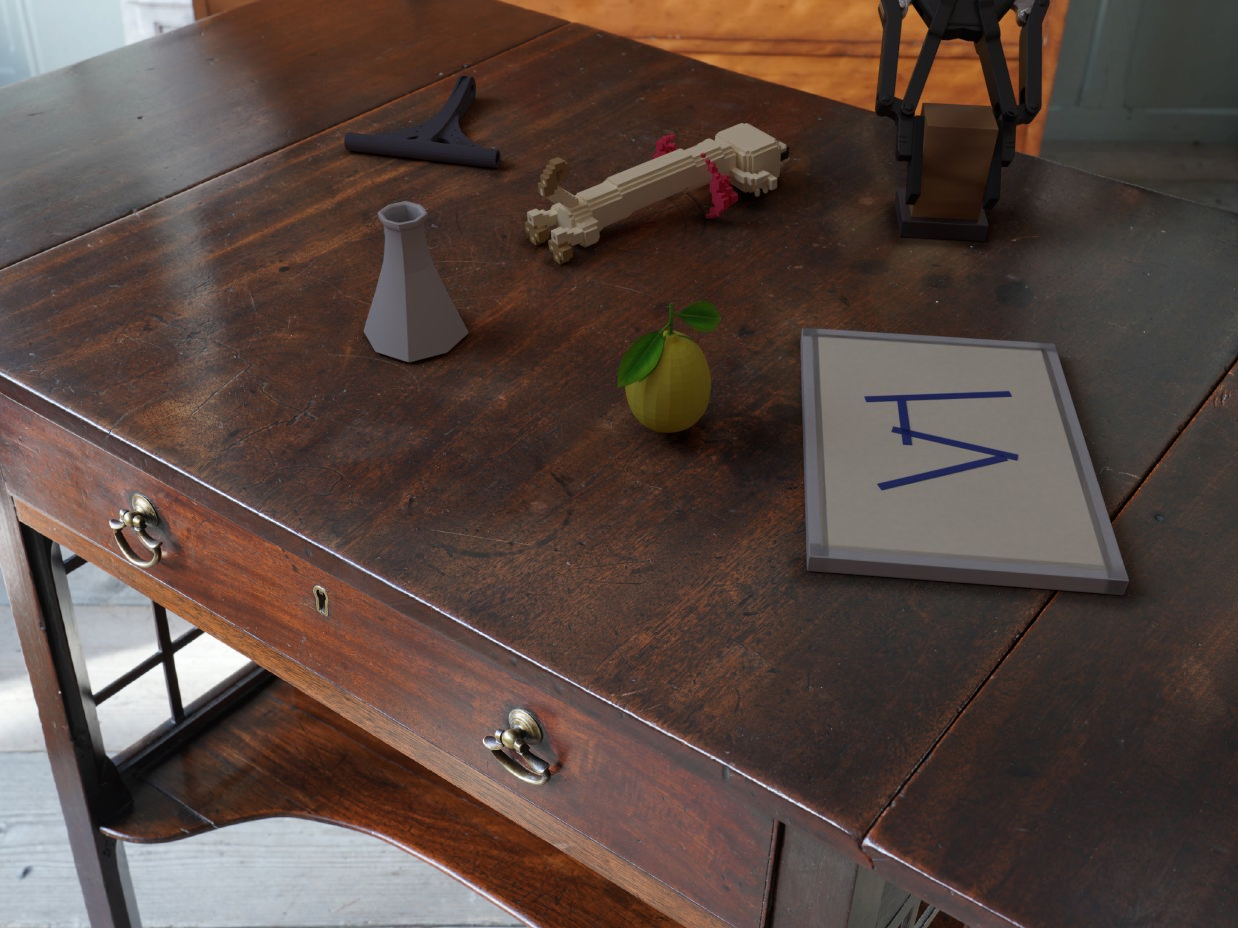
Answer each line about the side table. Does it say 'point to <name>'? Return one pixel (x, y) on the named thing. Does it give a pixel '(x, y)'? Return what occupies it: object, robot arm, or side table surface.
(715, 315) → the lemon
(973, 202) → the eraser
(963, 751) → the side table surface
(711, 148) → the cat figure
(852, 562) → the board
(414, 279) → the flask
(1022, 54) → the robot arm
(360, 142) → the bracket
